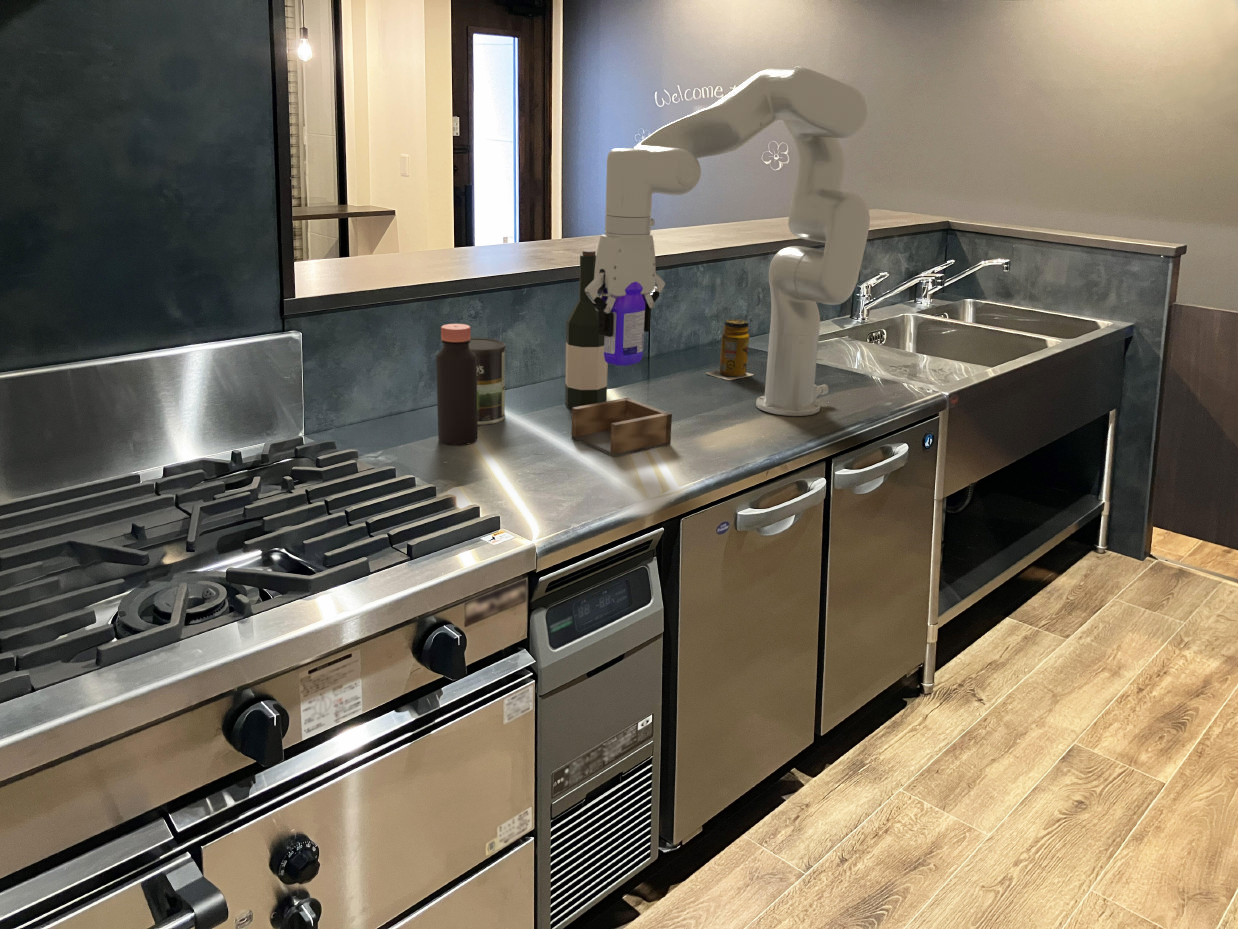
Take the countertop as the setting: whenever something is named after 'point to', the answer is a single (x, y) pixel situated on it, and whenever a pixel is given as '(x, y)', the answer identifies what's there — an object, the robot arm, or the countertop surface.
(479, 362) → the coffee can
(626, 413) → the u rest
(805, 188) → the robot arm
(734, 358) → the condiment
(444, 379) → the vinegar
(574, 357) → the wine bottle
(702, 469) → the countertop surface
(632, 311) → the bottle
